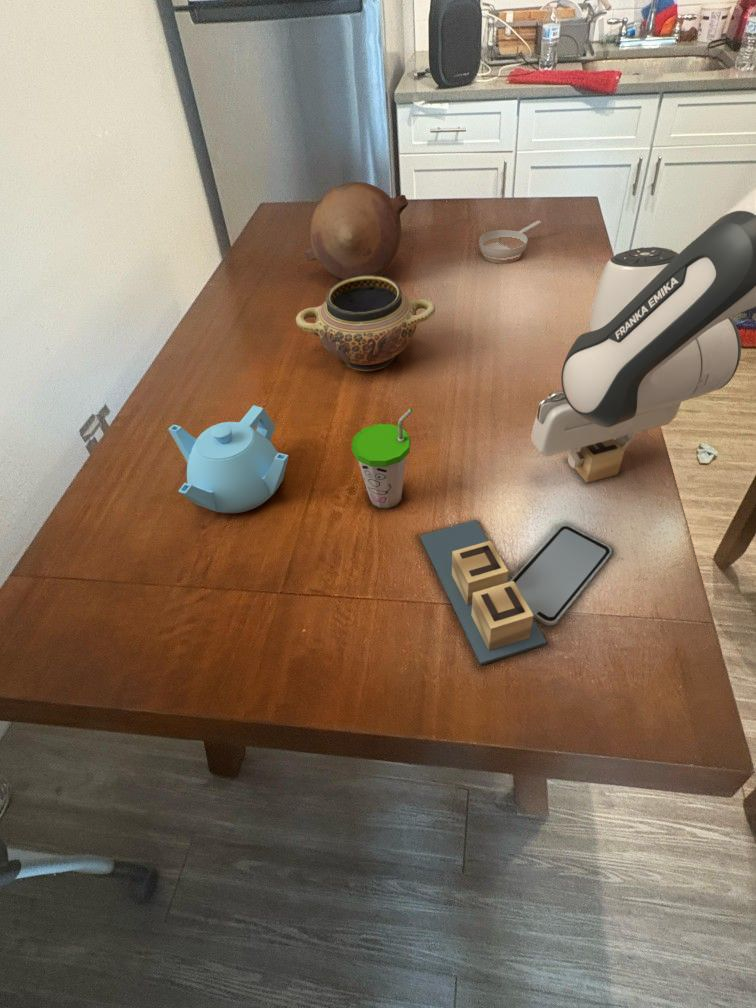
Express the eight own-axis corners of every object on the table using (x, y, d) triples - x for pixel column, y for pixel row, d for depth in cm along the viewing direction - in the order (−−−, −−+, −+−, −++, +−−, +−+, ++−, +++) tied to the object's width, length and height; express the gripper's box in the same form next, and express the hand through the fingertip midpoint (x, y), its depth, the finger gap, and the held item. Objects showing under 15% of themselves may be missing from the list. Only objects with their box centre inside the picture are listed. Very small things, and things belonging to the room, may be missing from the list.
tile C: (529, 638, 68) (534, 614, 65) (488, 650, 68) (491, 627, 64) (510, 603, 72) (513, 579, 68) (471, 615, 71) (472, 591, 68)
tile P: (618, 474, 86) (625, 449, 83) (586, 483, 86) (592, 458, 82) (599, 452, 90) (605, 428, 86) (568, 461, 89) (573, 436, 86)
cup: (349, 508, 85) (336, 425, 75) (372, 473, 90) (363, 389, 80) (400, 523, 83) (394, 438, 72) (421, 485, 88) (418, 401, 77)
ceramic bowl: (301, 392, 111) (283, 331, 98) (311, 322, 120) (296, 258, 107) (435, 390, 109) (434, 327, 96) (435, 319, 117) (435, 253, 104)
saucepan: (468, 256, 140) (469, 239, 137) (520, 231, 147) (522, 215, 144) (504, 269, 133) (505, 252, 131) (556, 243, 141) (558, 226, 138)
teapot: (301, 506, 87) (288, 448, 79) (197, 536, 84) (172, 480, 76) (278, 443, 97) (264, 387, 89) (184, 468, 94) (162, 413, 87)
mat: (546, 644, 68) (546, 641, 68) (480, 665, 67) (480, 663, 67) (475, 522, 82) (476, 519, 81) (420, 538, 81) (420, 535, 80)
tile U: (505, 594, 73) (508, 570, 69) (467, 605, 72) (468, 582, 69) (488, 563, 76) (490, 539, 73) (451, 574, 75) (452, 550, 72)
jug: (382, 303, 127) (409, 264, 150) (399, 202, 115) (427, 178, 138) (290, 279, 129) (332, 245, 152) (298, 178, 117) (342, 157, 140)
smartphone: (615, 549, 77) (552, 626, 69) (613, 554, 77) (551, 630, 70) (563, 522, 80) (498, 592, 73) (561, 527, 81) (498, 597, 74)
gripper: (552, 410, 73) (539, 492, 83) (700, 372, 76) (671, 455, 86) (528, 382, 77) (518, 463, 87) (669, 348, 80) (644, 429, 90)
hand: (595, 459), depth 87 cm, fingers closed on tile P, 5 cm apart
